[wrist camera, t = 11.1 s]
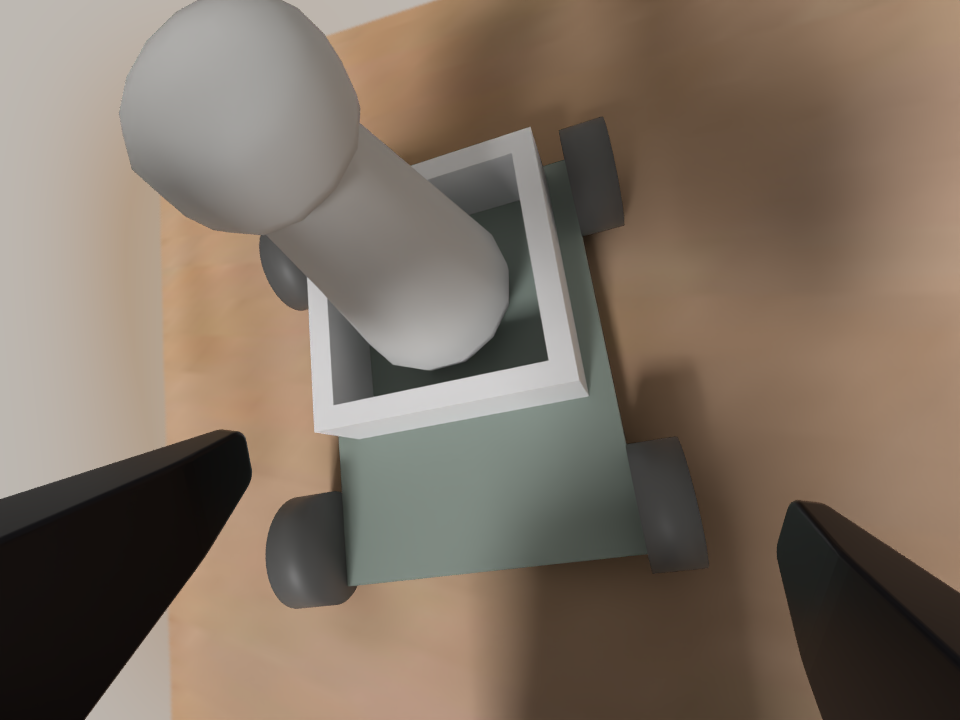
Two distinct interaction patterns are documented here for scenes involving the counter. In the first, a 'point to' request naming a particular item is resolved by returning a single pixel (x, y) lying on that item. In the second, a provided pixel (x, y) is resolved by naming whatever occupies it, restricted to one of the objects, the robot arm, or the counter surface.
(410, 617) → the counter surface
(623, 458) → the toy wheeled cart
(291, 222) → the salt shaker
